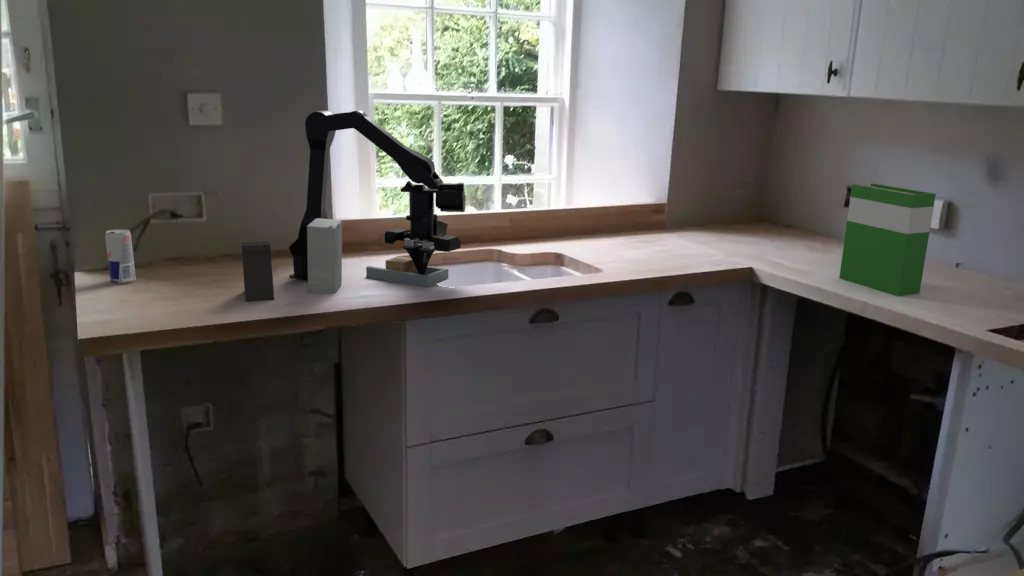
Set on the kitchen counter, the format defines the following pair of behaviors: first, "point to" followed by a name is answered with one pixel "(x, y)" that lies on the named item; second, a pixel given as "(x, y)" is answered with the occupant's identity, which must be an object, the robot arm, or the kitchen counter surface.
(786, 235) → the kitchen counter surface
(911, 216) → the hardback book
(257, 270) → the dark grey upright block
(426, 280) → the slate channel
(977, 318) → the kitchen counter surface
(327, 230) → the skincare box
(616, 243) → the kitchen counter surface
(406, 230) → the robot arm
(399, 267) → the walnut block
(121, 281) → the energy drink
